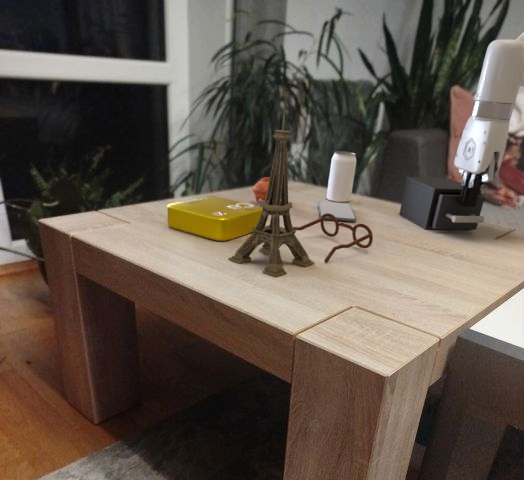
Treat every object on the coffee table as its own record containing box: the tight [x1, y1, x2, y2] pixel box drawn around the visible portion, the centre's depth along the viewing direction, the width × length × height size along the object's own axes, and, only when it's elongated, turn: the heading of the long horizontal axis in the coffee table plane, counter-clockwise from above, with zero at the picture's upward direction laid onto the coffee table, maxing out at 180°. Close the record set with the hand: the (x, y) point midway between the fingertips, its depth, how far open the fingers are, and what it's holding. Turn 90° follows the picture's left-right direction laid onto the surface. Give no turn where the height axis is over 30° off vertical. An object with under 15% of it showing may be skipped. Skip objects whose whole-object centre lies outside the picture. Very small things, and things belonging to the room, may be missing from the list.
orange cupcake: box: [252, 176, 274, 203], centre depth 124 cm, size 8×8×7 cm
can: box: [326, 150, 357, 203], centre depth 133 cm, size 6×6×12 cm
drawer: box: [430, 192, 486, 231], centre depth 114 cm, size 17×10×7 cm, turn 12°
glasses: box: [293, 213, 374, 264], centre depth 95 cm, size 13×13×5 cm
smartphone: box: [317, 200, 357, 223], centre depth 121 cm, size 8×1×15 cm
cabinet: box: [399, 176, 482, 231], centre depth 119 cm, size 14×12×9 cm
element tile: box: [166, 195, 263, 242], centre depth 102 cm, size 15×15×5 cm
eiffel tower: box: [227, 100, 316, 278], centre depth 80 cm, size 11×11×25 cm
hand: (466, 205), depth 108 cm, fingers closed
